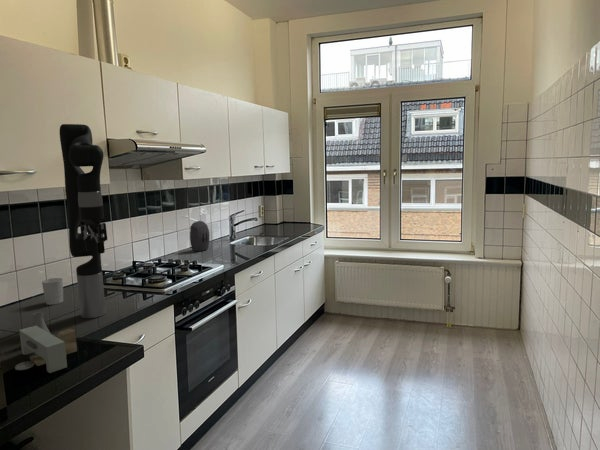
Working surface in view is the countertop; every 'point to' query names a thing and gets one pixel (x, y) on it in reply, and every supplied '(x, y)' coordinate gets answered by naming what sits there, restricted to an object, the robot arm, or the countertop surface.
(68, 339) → the brown block
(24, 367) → the disc
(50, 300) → the white cup
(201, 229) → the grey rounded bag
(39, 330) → the low white stool
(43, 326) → the flask
